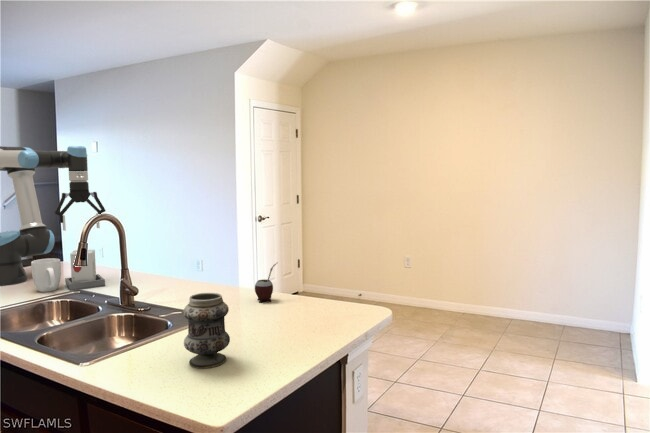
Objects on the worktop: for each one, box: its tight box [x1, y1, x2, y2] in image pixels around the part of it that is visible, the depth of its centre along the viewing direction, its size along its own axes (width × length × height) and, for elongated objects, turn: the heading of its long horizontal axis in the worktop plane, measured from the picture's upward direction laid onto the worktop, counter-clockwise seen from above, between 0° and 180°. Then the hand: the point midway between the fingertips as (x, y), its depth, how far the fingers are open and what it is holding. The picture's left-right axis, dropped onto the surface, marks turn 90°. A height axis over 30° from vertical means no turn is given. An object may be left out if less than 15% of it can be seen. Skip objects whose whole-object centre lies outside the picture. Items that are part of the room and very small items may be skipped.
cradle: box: [64, 273, 106, 292], centre depth 218 cm, size 14×14×3 cm
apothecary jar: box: [182, 292, 231, 369], centre depth 130 cm, size 12×12×18 cm
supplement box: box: [69, 249, 97, 283], centre depth 217 cm, size 9×9×15 cm
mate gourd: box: [254, 261, 278, 304], centre depth 189 cm, size 8×8×15 cm
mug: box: [30, 257, 62, 293], centre depth 208 cm, size 15×11×13 cm
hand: (81, 229), depth 216 cm, fingers open, 13 cm apart
